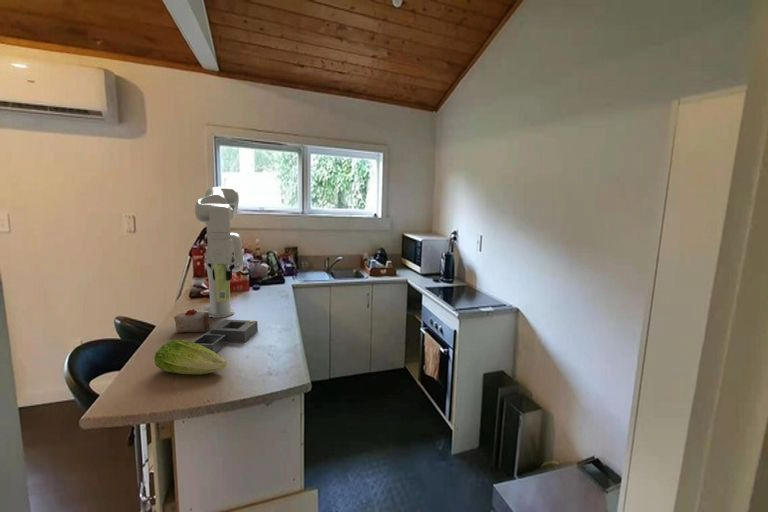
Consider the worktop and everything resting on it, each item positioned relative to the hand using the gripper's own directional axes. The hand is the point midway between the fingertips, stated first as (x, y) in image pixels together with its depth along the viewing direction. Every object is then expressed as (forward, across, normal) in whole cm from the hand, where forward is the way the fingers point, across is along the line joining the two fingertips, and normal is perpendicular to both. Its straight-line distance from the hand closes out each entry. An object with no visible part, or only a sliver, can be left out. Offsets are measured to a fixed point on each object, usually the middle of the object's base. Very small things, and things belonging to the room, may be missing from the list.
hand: (222, 279), depth 147 cm
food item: (+27, -20, +8) cm, 35 cm away
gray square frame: (+27, -2, -10) cm, 28 cm away
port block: (+27, +2, +4) cm, 27 cm away
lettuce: (+26, +4, -28) cm, 39 cm away
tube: (+10, 0, 0) cm, 10 cm away
